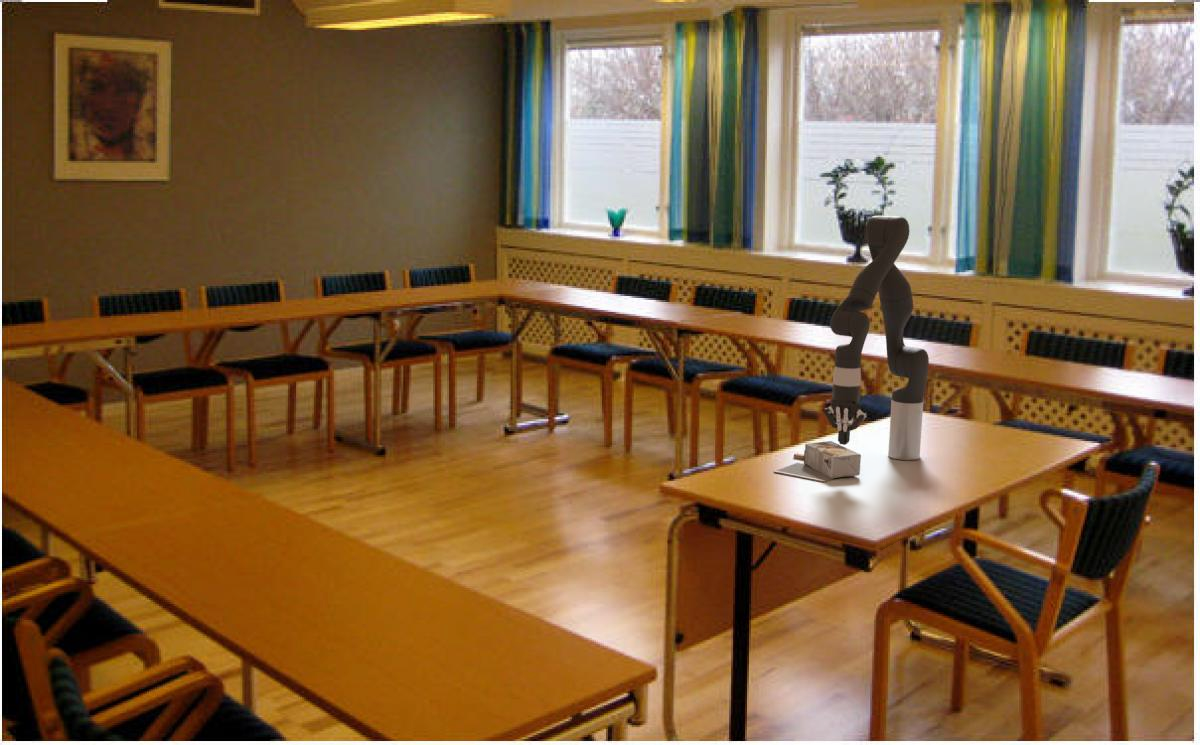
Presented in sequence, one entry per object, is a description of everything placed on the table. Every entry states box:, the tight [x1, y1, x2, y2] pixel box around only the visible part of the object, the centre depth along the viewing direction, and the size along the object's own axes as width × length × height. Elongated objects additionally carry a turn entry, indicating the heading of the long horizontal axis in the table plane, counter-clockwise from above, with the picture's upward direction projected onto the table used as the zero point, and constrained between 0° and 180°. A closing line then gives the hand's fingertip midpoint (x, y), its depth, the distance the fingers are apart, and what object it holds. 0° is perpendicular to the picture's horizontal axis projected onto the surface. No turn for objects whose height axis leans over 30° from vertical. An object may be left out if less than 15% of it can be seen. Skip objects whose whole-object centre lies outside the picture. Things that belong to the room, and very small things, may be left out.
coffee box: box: [803, 440, 862, 479], centre depth 385 cm, size 9×6×16 cm
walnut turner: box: [793, 452, 804, 461], centre depth 396 cm, size 18×6×1 cm, turn 52°
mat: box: [773, 461, 835, 483], centre depth 384 cm, size 14×16×1 cm
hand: (843, 443), depth 376 cm, fingers closed
